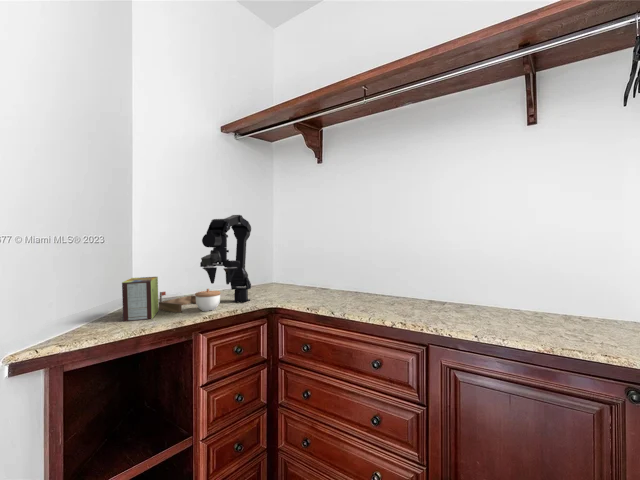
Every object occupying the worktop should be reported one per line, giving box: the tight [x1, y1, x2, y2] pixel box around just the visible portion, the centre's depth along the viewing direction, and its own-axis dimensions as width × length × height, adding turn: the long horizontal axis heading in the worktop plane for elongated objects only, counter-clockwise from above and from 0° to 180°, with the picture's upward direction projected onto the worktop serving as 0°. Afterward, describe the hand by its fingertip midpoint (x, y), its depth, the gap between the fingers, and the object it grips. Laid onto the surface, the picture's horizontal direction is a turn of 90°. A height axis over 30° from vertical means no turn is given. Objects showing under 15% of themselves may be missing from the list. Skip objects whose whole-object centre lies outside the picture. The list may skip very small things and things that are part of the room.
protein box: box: [121, 276, 159, 322], centre depth 135 cm, size 10×15×16 cm
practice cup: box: [158, 291, 196, 314], centre depth 152 cm, size 18×13×8 cm
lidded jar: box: [194, 288, 221, 312], centre depth 145 cm, size 11×11×9 cm
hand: (219, 283), depth 140 cm, fingers open, 9 cm apart
